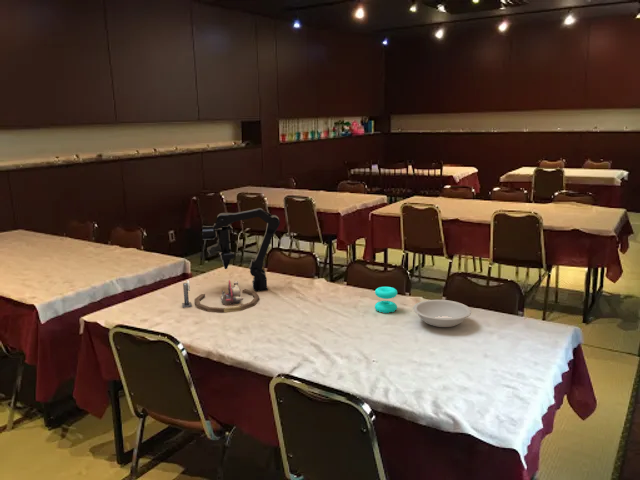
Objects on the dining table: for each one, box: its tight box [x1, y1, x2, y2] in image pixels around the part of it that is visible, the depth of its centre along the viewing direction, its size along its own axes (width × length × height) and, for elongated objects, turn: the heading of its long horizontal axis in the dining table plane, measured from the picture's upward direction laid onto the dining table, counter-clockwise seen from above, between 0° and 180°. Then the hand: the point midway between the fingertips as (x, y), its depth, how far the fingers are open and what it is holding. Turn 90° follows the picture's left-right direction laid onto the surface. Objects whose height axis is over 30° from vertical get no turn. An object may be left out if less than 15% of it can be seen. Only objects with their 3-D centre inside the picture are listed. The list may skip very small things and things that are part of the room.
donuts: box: [374, 286, 398, 314], centre depth 247 cm, size 10×10×10 cm
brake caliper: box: [220, 280, 244, 307], centre depth 261 cm, size 11×11×12 cm
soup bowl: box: [412, 299, 472, 328], centre depth 231 cm, size 24×24×7 cm
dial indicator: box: [181, 279, 193, 309], centre depth 256 cm, size 4×5×12 cm
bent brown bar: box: [194, 288, 260, 313], centre depth 261 cm, size 30×26×2 cm
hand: (225, 268), depth 275 cm, fingers closed
